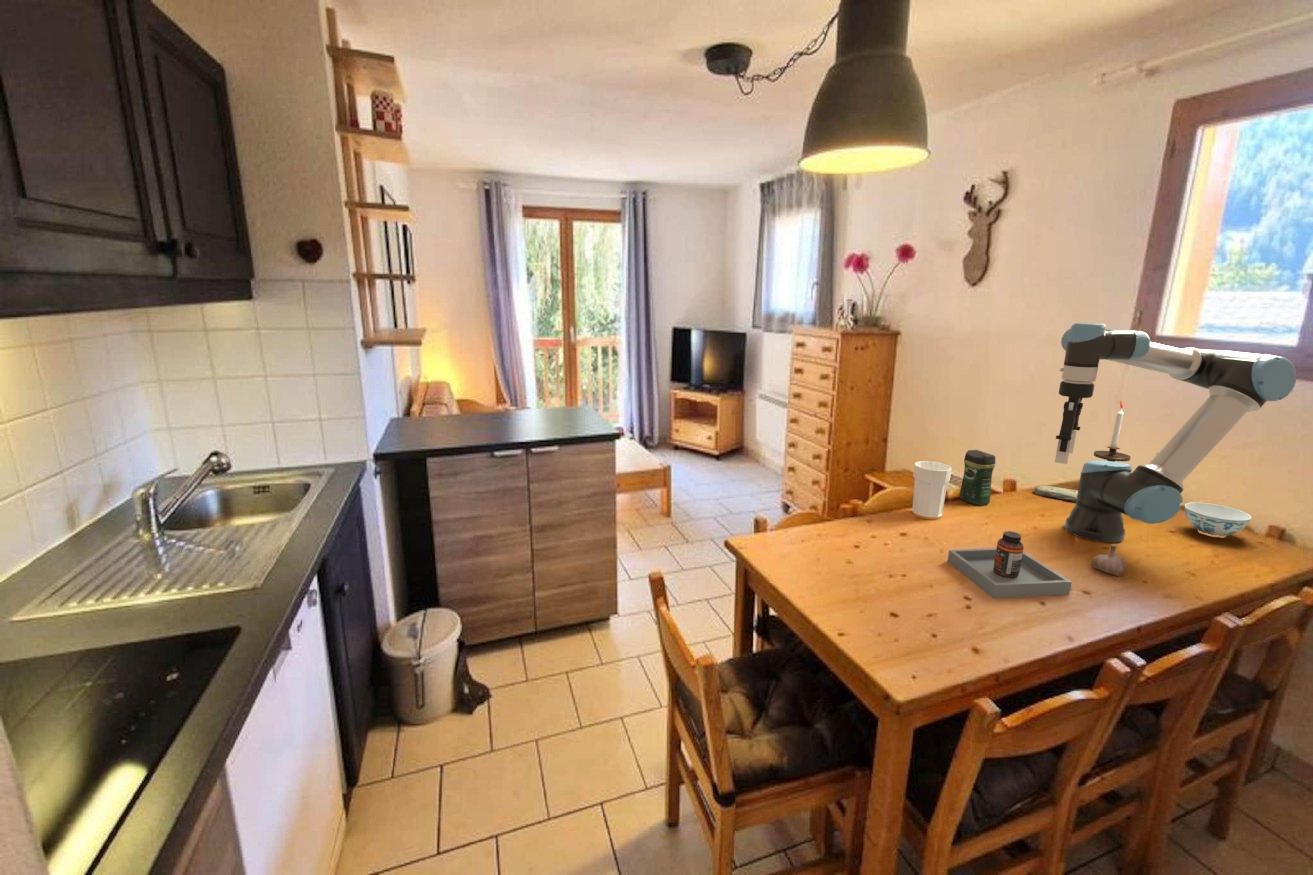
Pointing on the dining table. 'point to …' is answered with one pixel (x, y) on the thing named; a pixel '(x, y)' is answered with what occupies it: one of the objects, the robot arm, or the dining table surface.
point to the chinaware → (1216, 518)
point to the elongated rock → (1056, 492)
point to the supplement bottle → (1008, 555)
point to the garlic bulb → (1109, 562)
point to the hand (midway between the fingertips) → (1063, 457)
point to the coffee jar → (977, 477)
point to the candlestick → (1114, 442)
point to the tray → (1028, 582)
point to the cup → (930, 489)
